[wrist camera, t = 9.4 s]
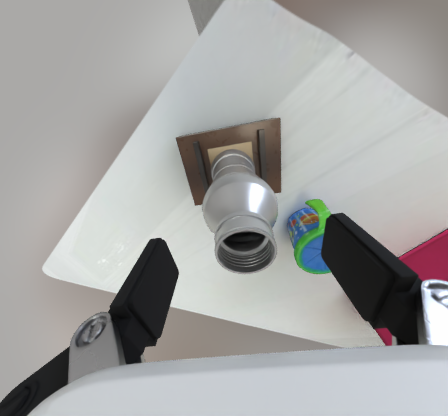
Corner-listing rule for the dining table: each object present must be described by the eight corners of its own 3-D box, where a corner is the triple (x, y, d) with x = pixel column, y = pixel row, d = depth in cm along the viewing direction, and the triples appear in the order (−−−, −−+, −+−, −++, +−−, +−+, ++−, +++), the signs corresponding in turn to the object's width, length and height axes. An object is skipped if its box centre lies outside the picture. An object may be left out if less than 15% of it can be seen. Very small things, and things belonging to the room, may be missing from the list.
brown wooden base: (181, 135, 29) (172, 138, 24) (273, 118, 28) (283, 117, 23) (198, 196, 35) (193, 209, 30) (275, 184, 33) (283, 195, 28)
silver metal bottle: (215, 142, 26) (193, 194, 8) (257, 151, 26) (324, 216, 8) (209, 181, 29) (183, 281, 11) (247, 188, 29) (281, 294, 11)
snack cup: (321, 246, 41) (348, 281, 32) (278, 249, 41) (293, 285, 32) (334, 187, 33) (374, 212, 24) (281, 192, 34) (301, 218, 25)
